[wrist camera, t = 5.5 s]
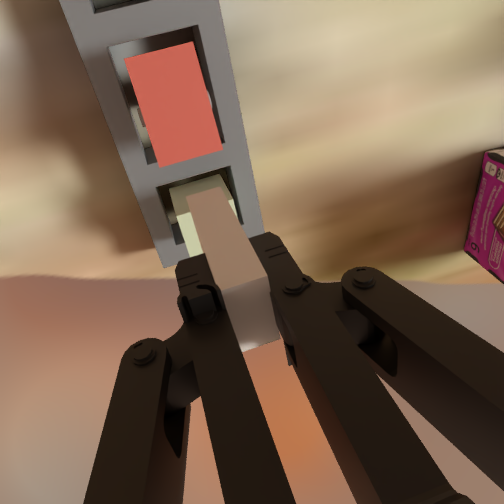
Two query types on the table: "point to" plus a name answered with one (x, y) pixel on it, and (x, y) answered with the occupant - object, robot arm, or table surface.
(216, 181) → the pale green cube
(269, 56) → the table surface
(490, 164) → the candy bar box
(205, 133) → the rocker
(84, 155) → the table surface
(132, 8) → the panel
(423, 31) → the table surface
